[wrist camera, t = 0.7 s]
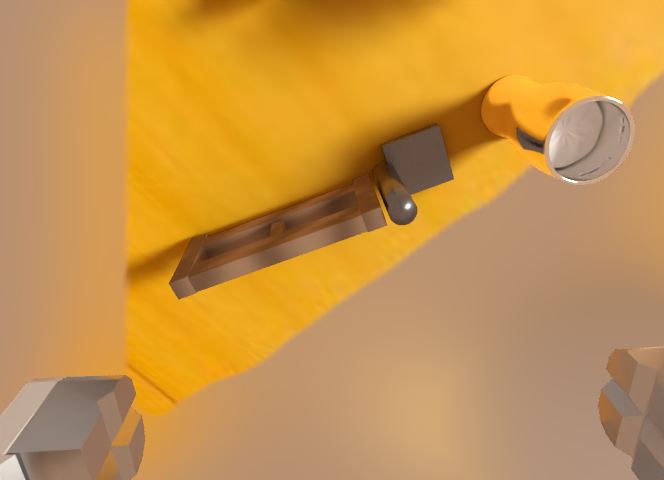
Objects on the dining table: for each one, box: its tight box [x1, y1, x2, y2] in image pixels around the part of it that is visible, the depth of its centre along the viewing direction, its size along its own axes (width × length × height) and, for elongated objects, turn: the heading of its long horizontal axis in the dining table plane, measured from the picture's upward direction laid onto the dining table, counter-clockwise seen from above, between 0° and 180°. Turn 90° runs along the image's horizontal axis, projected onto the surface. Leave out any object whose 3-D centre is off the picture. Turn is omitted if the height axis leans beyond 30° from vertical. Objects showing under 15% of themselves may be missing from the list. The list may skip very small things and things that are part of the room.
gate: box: [169, 174, 387, 299], centre depth 47 cm, size 20×3×10 cm, turn 110°
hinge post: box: [373, 124, 454, 225], centre depth 45 cm, size 6×8×11 cm
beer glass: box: [481, 75, 635, 185], centre depth 42 cm, size 7×7×15 cm
